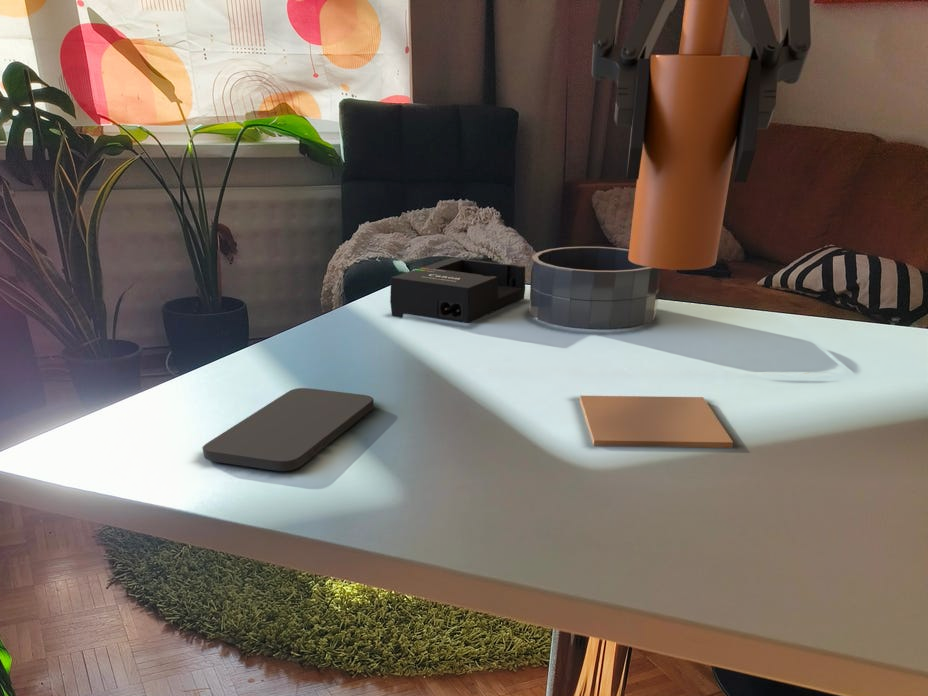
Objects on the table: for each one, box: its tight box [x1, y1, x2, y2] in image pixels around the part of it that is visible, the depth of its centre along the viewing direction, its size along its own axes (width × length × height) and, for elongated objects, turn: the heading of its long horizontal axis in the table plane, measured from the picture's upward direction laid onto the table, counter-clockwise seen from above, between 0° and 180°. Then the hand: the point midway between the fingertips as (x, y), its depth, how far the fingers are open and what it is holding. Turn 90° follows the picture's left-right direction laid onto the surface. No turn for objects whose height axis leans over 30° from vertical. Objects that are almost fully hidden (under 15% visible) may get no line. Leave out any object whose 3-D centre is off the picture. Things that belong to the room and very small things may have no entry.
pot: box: [528, 246, 663, 330], centre depth 93 cm, size 13×13×6 cm
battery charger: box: [389, 257, 526, 324], centre depth 97 cm, size 13×10×4 cm
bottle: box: [628, 0, 750, 271], centre depth 57 cm, size 6×6×17 cm
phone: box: [202, 387, 375, 472], centre depth 66 cm, size 7×1×15 cm
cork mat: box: [579, 395, 734, 449], centre depth 68 cm, size 10×10×1 cm
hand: (689, 165), depth 56 cm, fingers closed on bottle, 6 cm apart
